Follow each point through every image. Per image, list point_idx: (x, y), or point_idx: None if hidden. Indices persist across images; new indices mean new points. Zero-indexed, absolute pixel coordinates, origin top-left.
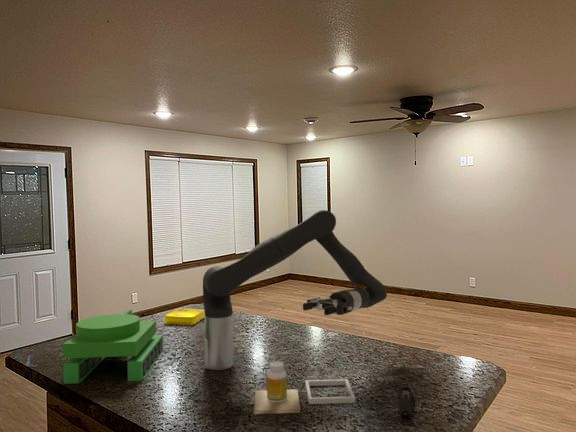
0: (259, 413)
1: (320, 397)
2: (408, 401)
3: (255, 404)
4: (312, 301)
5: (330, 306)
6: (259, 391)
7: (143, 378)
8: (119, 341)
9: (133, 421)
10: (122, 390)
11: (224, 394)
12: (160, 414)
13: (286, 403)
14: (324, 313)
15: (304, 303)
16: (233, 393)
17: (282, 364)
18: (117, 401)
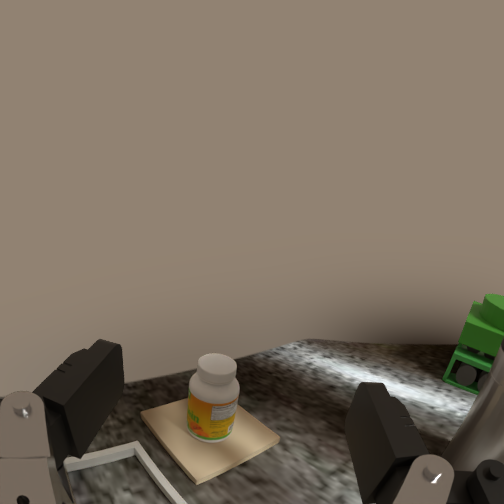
0: None
1: (113, 452)
2: None
3: None
4: (410, 466)
5: (74, 384)
6: (269, 437)
7: (445, 379)
8: (471, 316)
9: (326, 340)
10: (418, 361)
11: (323, 416)
12: (323, 354)
13: (178, 420)
14: (121, 377)
15: (375, 383)
16: (315, 425)
17: (200, 363)
18: (388, 351)
